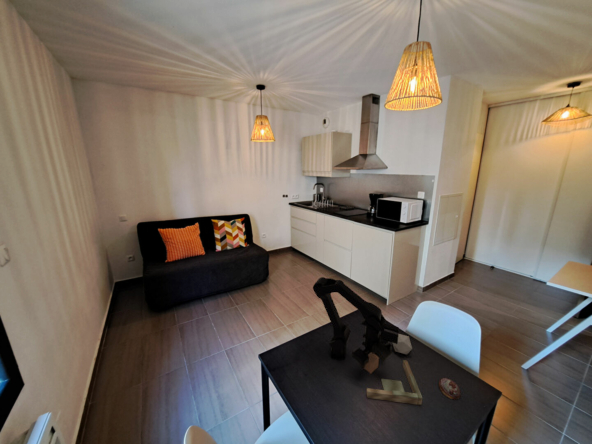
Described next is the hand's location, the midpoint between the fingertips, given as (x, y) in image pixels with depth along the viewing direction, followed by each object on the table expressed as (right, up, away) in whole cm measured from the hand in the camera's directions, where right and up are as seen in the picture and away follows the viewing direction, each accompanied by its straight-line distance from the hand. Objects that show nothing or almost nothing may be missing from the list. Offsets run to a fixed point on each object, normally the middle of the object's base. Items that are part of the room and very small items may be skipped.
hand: (369, 363), depth 101 cm
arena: (+6, -3, -6) cm, 9 cm away
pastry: (+29, -5, -10) cm, 31 cm away
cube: (0, -2, 0) cm, 2 cm away
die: (+18, +1, +9) cm, 20 cm away
